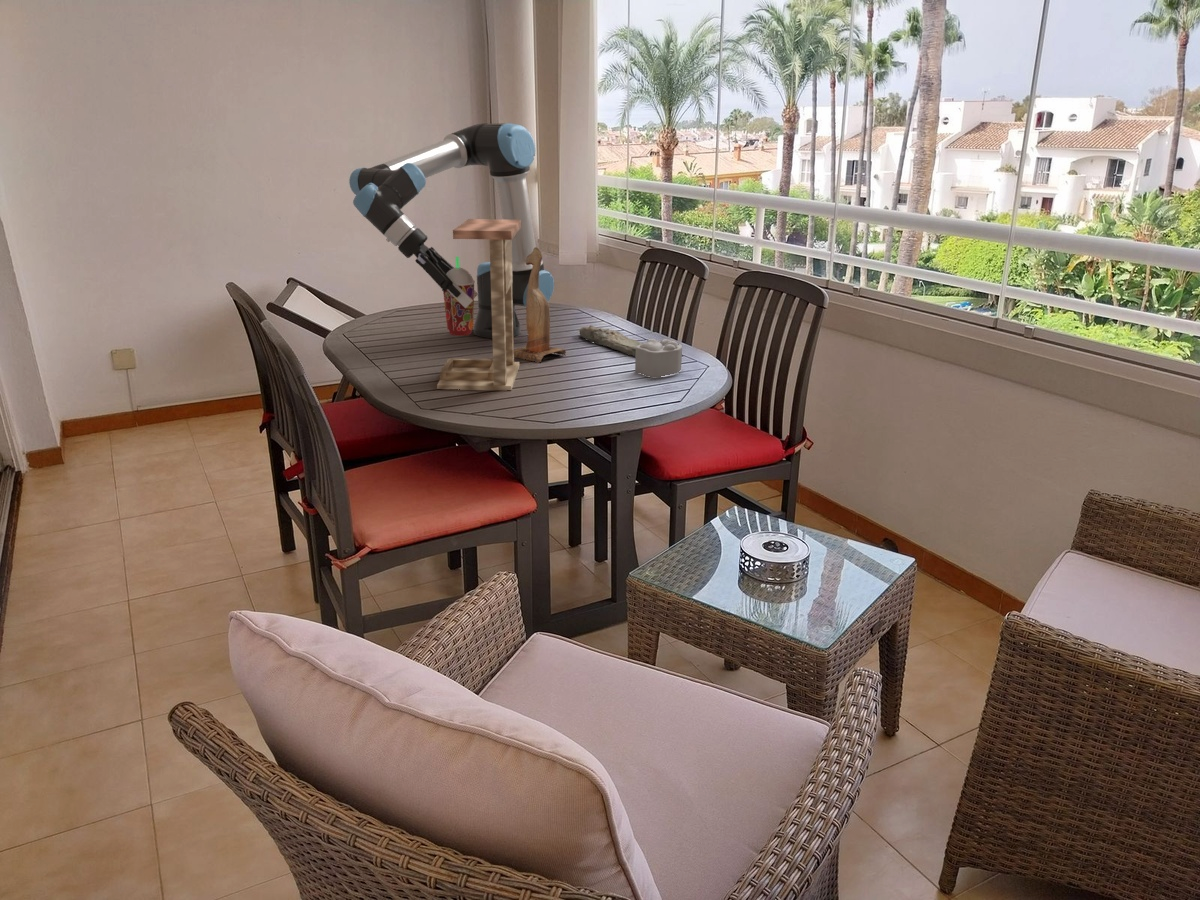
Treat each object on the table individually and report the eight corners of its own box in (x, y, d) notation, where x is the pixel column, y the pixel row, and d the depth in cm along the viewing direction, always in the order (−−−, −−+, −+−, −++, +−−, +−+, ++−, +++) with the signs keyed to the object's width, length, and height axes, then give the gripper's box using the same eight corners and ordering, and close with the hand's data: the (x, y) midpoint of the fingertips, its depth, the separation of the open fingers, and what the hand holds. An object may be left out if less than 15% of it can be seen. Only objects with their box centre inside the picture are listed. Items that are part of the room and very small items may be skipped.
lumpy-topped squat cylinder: (630, 371, 242) (631, 340, 239) (666, 364, 249) (667, 334, 246) (654, 379, 234) (655, 348, 231) (690, 372, 241) (691, 342, 238)
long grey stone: (635, 365, 253) (661, 362, 258) (637, 348, 251) (664, 345, 256) (569, 335, 279) (595, 333, 284) (571, 319, 277) (596, 317, 282)
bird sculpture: (536, 351, 262) (531, 243, 251) (566, 355, 256) (563, 245, 245) (512, 358, 254) (505, 247, 243) (543, 364, 247) (538, 249, 236)
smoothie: (469, 338, 225) (467, 259, 218) (439, 335, 226) (435, 258, 219) (480, 331, 232) (478, 255, 225) (451, 329, 234) (448, 253, 227)
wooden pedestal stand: (436, 390, 221) (427, 229, 207) (452, 364, 245) (445, 218, 231) (514, 391, 221) (511, 231, 207) (523, 365, 246) (520, 219, 231)
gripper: (406, 242, 232) (468, 302, 237) (387, 253, 212) (455, 319, 217) (425, 222, 230) (487, 283, 235) (407, 231, 210) (475, 298, 216)
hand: (471, 300), depth 226 cm, fingers closed on smoothie, 8 cm apart
